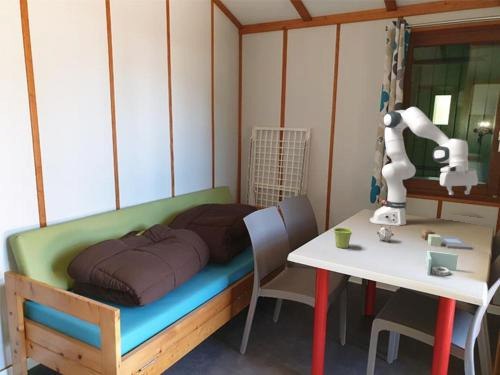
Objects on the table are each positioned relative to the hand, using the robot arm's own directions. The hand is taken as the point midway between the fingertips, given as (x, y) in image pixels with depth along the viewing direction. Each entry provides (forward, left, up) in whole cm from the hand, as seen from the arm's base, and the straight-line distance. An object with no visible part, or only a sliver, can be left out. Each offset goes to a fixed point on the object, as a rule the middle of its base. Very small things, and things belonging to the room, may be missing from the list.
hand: (459, 194), depth 202 cm
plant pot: (-61, -20, -27) cm, 70 cm away
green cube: (-12, -6, -27) cm, 30 cm away
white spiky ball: (-37, -5, -27) cm, 46 cm away
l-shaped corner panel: (-22, -48, -27) cm, 59 cm away
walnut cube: (-12, +4, -27) cm, 29 cm away
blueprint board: (-1, -1, -27) cm, 27 cm away
